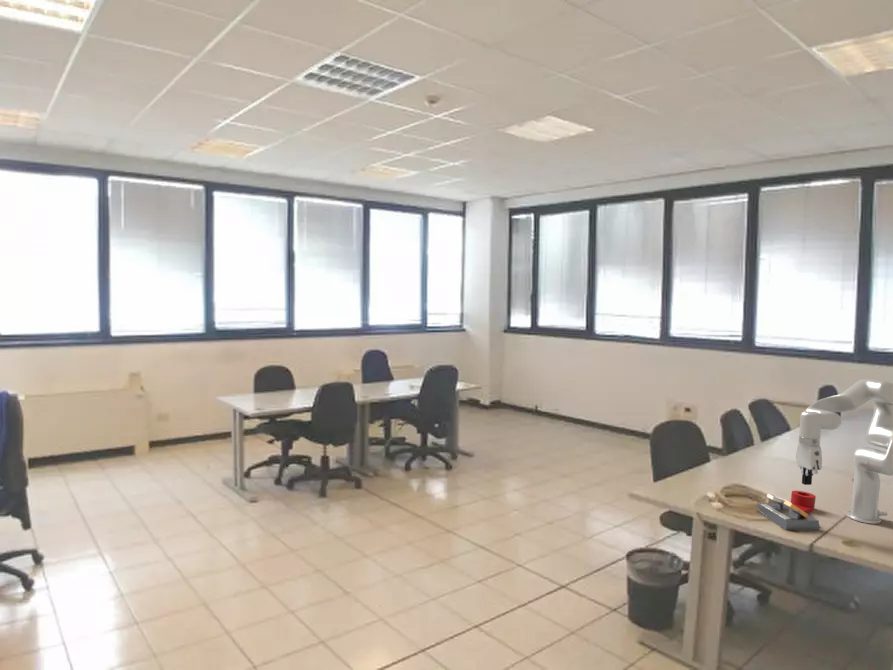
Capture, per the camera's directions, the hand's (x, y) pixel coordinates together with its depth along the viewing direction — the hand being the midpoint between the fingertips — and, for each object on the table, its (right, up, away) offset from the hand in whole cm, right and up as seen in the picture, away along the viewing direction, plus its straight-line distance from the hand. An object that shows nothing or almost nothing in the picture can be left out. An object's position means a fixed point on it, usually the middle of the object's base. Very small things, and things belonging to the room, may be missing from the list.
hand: (806, 484), depth 253 cm
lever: (+9, -17, +19) cm, 27 cm away
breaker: (-6, -10, +11) cm, 16 cm away
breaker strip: (-5, -17, +6) cm, 19 cm away
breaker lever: (-5, -11, 0) cm, 12 cm away
